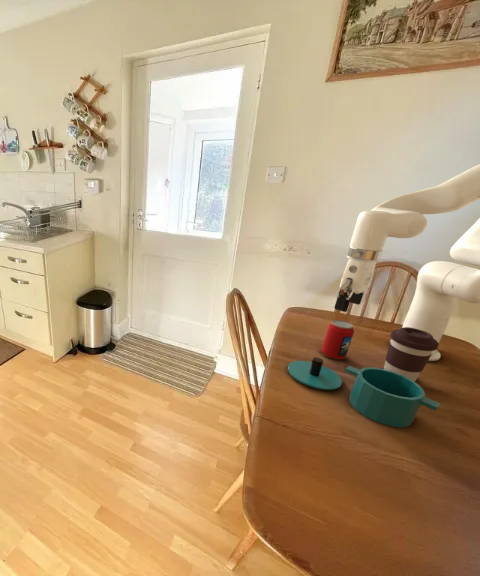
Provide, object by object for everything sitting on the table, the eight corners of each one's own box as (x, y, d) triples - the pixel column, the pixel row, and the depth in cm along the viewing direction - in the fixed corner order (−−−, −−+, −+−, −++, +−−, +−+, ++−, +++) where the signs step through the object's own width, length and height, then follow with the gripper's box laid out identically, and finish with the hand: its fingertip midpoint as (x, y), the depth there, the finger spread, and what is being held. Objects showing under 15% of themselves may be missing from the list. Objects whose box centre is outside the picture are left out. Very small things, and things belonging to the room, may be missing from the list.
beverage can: (346, 363, 101) (357, 330, 96) (321, 357, 104) (330, 325, 100) (344, 353, 106) (354, 322, 102) (320, 347, 110) (329, 317, 105)
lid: (300, 359, 103) (305, 343, 101) (349, 381, 93) (355, 363, 90) (278, 373, 96) (282, 356, 94) (327, 398, 86) (333, 379, 84)
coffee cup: (430, 388, 89) (451, 343, 84) (390, 384, 91) (408, 339, 86) (406, 368, 98) (423, 326, 93) (370, 364, 100) (385, 323, 95)
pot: (349, 381, 92) (357, 357, 89) (433, 420, 78) (447, 393, 75) (329, 398, 86) (338, 372, 83) (417, 443, 72) (432, 414, 69)
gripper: (367, 261, 85) (349, 318, 91) (390, 252, 93) (372, 304, 100) (336, 255, 90) (321, 308, 97) (360, 247, 99) (344, 296, 105)
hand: (347, 306), depth 98 cm, fingers open, 9 cm apart
